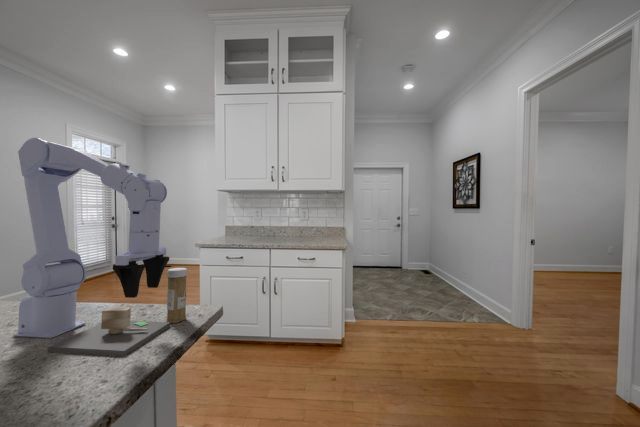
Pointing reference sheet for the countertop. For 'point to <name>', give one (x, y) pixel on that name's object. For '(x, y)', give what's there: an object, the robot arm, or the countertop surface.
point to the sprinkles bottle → (176, 295)
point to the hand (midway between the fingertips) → (142, 291)
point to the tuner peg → (117, 320)
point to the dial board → (109, 339)
